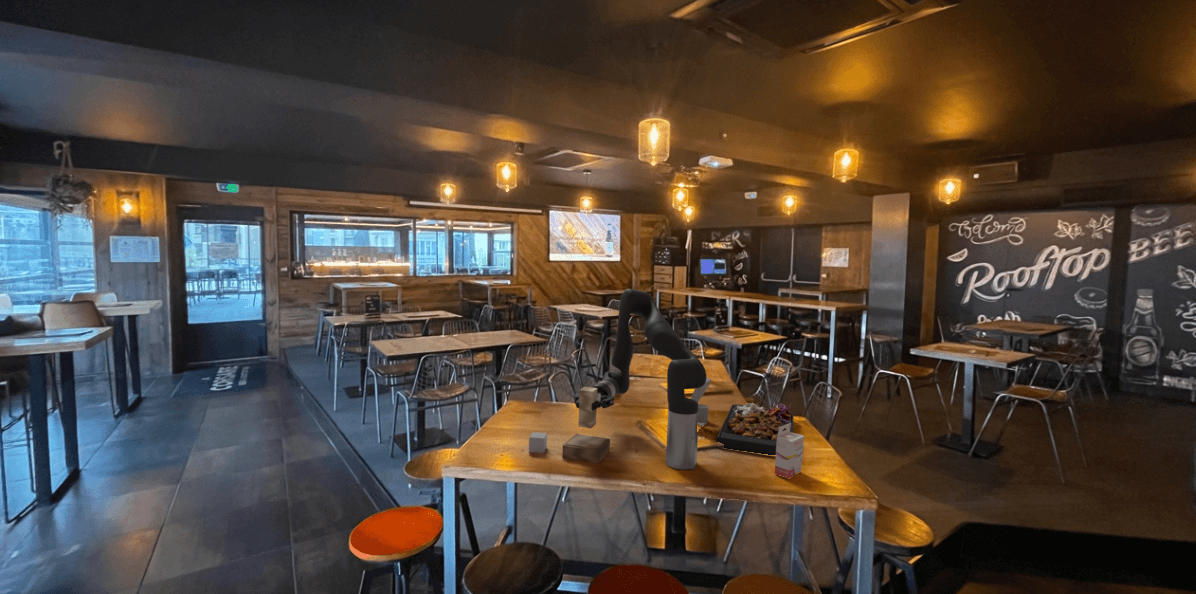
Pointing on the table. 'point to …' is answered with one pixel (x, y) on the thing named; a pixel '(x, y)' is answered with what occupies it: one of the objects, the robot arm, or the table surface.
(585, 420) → the oak block
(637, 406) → the table surface
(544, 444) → the stone cube
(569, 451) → the walnut riser
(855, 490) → the table surface
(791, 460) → the ink cartridge box
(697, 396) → the phone holder
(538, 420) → the table surface
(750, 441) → the food platter
